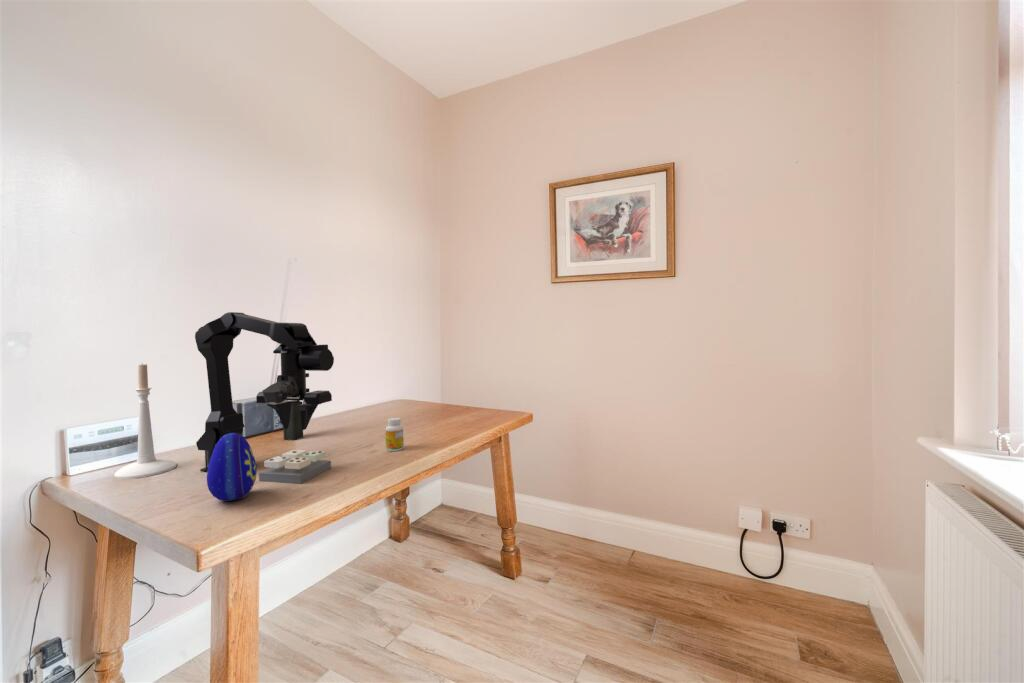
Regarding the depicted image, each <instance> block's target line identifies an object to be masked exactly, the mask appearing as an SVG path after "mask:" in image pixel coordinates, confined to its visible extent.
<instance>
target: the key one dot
mask: <svg viewBox="0 0 1024 683" xmlns="http://www.w3.org/2000/svg"><path fill="white" fill-rule="evenodd" d="M306 453H307V450H303V449H291V450H289V451H286V452H283V453H281V457H291V459H294V458H296V457H299V458H301V455H303V454H306Z"/></svg>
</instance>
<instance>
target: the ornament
mask: <svg viewBox="0 0 1024 683" xmlns="http://www.w3.org/2000/svg"><path fill="white" fill-rule="evenodd" d="M257 472H258V465H257V461H256V458H255V455H254V452H253V449H252V447H251V445H250V443H249V442H248V440H247V439H246V437H244V436H243V435H242V434H241V435H240V434H237V433H229V434H226V435H224V436H223V437H221V438H220V440H219V441H218V442H217V444H216V446H215V448H214V450H213V453H212V456H211V459H210V462H209V466H208V471H206V484H207V485H206V486H207V488H208V491H209V493H210V494H211V495H212V497H214V498H215V499H217V500H219V501H222V502H225V501H226V502H231V501H236V500H239V499H243V498H244V497H246V496H247V495H248V494H249V493H250V492H251V490H252V489H253V488H254V484H255V483H256V480H257V478H256V477H257Z"/></svg>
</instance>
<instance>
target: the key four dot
mask: <svg viewBox="0 0 1024 683" xmlns="http://www.w3.org/2000/svg"><path fill="white" fill-rule="evenodd" d="M309 464H311V458H299V457H296V458H294V459H291V460H289V461H287V462H285V468H288V469H301V468H303V467H305V466H307V465H309Z"/></svg>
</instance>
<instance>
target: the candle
mask: <svg viewBox="0 0 1024 683" xmlns="http://www.w3.org/2000/svg"><path fill="white" fill-rule="evenodd" d="M287 401H292V405H291V414H290V423H289V427H288V429H284V427H283V426H282V427H283V440H285V441H298V440H299V439H301V438H303V437H304V430H302V426H301V410H300V409H299V408H298V406H297V405H301V404H303V401H302V400H287Z"/></svg>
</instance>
